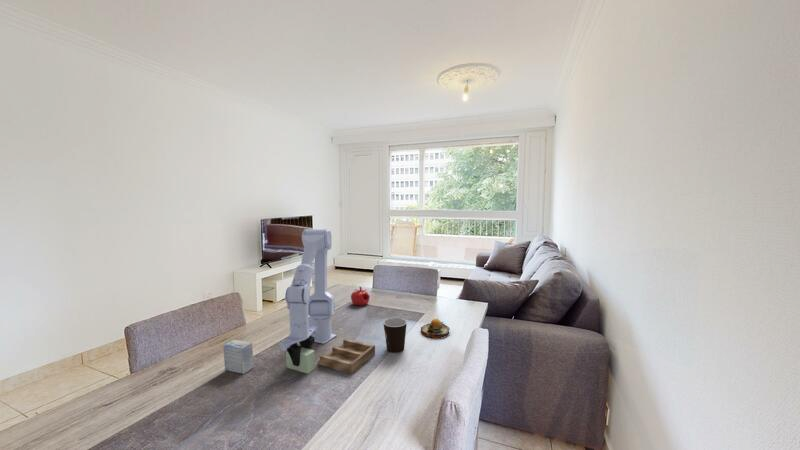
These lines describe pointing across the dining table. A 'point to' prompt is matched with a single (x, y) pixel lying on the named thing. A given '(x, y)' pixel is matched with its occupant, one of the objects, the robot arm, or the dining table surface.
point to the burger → (435, 329)
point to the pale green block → (303, 361)
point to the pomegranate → (360, 297)
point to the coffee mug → (395, 334)
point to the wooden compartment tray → (348, 356)
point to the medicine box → (238, 356)
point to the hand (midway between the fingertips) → (300, 362)
